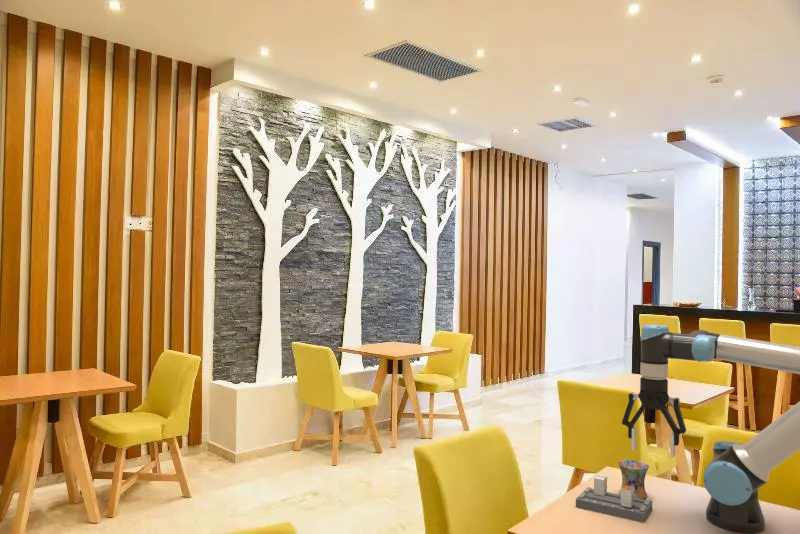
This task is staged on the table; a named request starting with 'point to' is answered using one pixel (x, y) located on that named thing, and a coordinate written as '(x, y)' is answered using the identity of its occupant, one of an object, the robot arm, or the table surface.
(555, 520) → the table surface
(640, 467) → the mug
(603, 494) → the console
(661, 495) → the table surface
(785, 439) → the robot arm
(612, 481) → the table surface
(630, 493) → the fader
